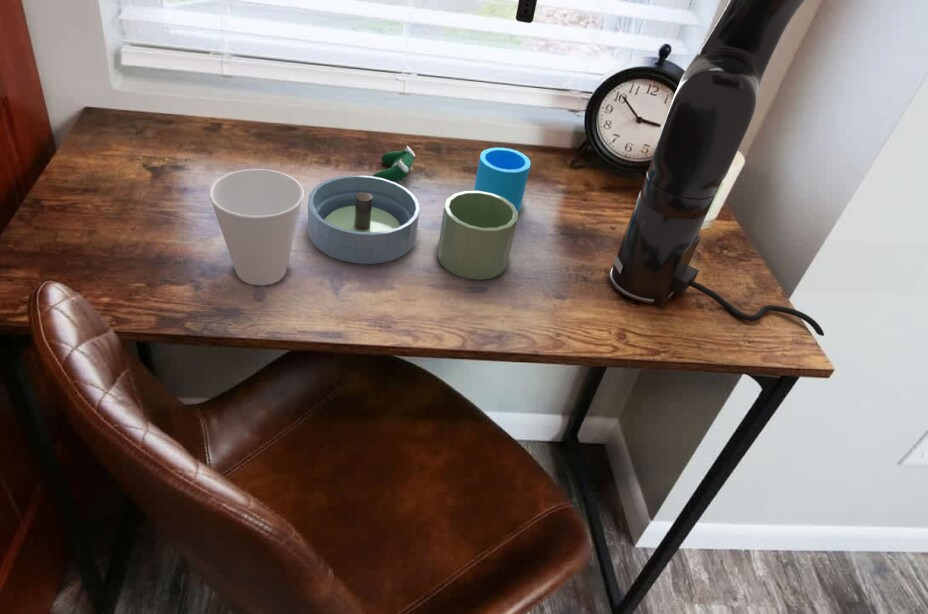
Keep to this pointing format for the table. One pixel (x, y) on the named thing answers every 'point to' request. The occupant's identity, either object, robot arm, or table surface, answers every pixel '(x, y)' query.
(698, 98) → the robot arm
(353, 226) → the lid
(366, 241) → the bowl
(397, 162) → the gaming controller
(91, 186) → the table surface
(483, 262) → the canister
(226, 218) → the cup
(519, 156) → the mug
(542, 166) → the table surface
